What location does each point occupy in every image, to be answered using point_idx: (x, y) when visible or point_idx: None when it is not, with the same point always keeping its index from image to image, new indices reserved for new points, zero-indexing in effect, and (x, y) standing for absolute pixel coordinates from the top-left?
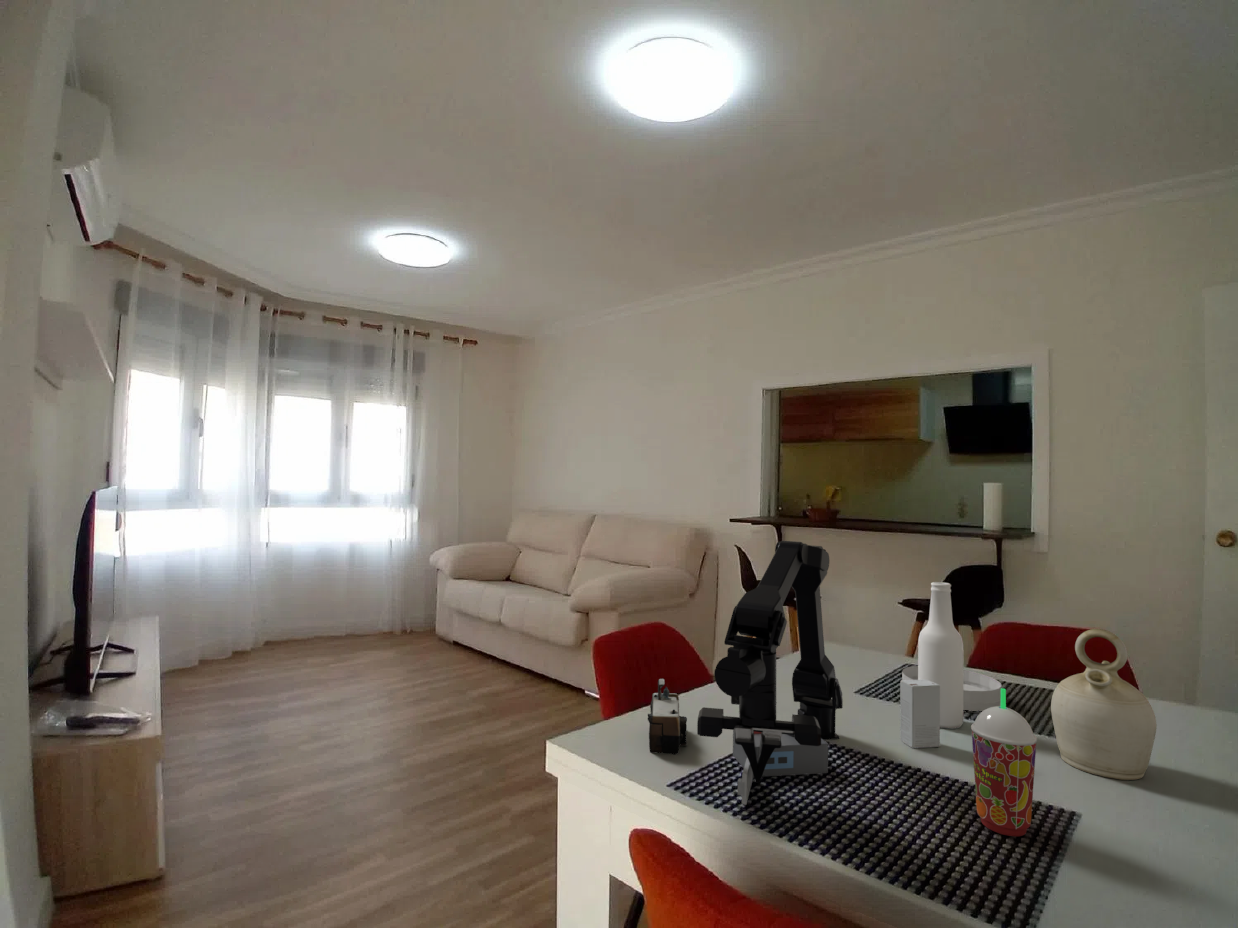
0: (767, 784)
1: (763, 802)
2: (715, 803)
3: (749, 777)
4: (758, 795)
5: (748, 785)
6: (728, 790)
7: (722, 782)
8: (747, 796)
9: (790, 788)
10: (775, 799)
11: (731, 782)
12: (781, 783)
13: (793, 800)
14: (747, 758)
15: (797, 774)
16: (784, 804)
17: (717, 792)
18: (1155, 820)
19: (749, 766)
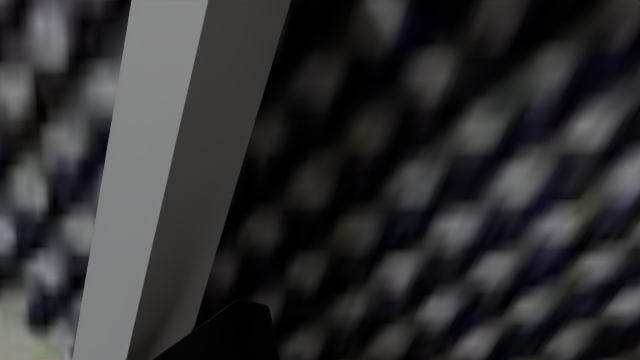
0: (410, 32)
1: (304, 284)
2: (33, 290)
3: (193, 250)
4: (294, 204)
5: (191, 286)
6: (104, 139)
7: (61, 10)
8: (198, 296)
9: (572, 97)
10: (390, 252)
11: (129, 7)
12: (539, 7)
13: (504, 265)
14: (115, 181)
15: None
16: (424, 307)
17: (35, 167)
18: None
19: (139, 335)
